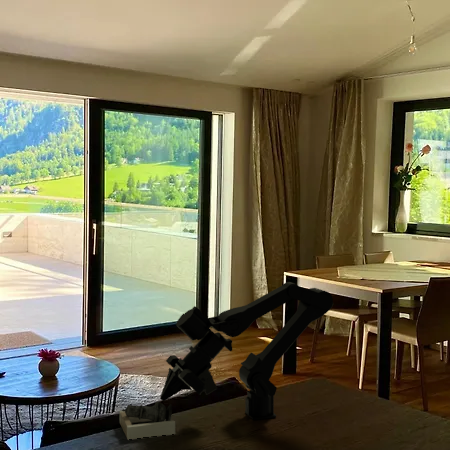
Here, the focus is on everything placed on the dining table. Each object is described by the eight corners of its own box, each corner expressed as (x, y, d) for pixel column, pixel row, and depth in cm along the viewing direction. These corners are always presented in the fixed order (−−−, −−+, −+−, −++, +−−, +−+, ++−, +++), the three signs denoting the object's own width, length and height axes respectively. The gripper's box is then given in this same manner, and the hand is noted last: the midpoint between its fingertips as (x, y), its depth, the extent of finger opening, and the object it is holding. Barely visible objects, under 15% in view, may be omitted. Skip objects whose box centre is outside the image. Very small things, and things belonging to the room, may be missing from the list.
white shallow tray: (163, 417, 170) (163, 406, 170) (175, 434, 158) (175, 422, 158) (119, 422, 166) (119, 410, 166) (127, 440, 155) (127, 427, 154)
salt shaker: (172, 413, 161) (123, 408, 158) (167, 432, 163) (119, 427, 160) (171, 398, 166) (123, 393, 163) (166, 416, 168) (119, 412, 165)
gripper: (237, 382, 159) (193, 432, 156) (215, 363, 177) (175, 408, 174) (206, 352, 156) (161, 403, 153) (186, 336, 174) (145, 381, 171)
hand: (161, 399), depth 163 cm, fingers closed
